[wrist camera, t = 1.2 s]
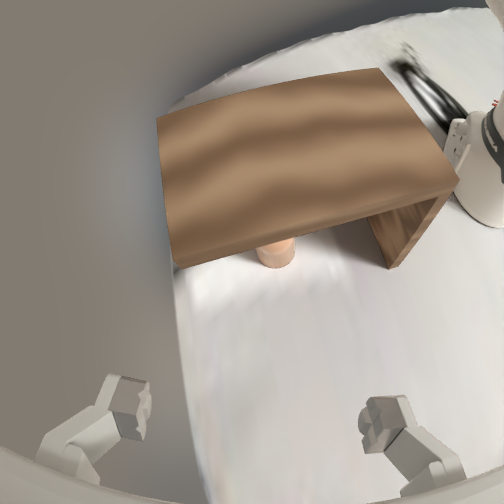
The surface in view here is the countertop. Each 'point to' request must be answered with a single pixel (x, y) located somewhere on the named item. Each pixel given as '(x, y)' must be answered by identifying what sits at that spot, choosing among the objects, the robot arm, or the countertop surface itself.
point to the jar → (277, 253)
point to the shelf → (300, 167)
